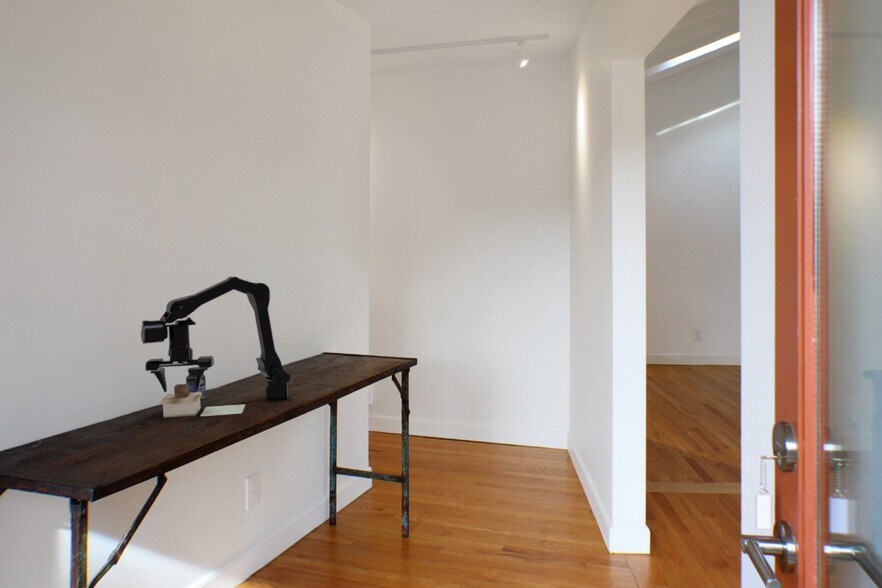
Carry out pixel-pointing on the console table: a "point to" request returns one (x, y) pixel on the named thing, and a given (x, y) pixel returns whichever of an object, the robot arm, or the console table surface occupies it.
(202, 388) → the pill bottle
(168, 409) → the beige boxy piece
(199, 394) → the lid
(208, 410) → the mat
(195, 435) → the console table surface
